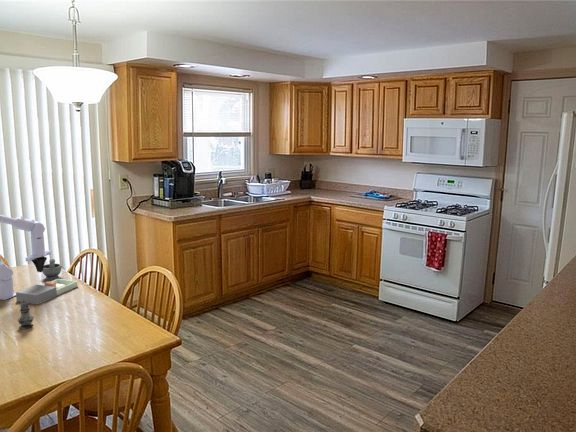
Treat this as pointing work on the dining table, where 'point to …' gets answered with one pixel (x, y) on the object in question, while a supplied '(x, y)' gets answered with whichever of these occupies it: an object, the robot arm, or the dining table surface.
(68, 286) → the green bin
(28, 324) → the dark grey chess piece
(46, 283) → the terracotta tile
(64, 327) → the dining table surface
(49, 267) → the mortar and pestle
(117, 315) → the dining table surface
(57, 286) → the cream tile
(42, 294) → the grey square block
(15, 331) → the dining table surface
